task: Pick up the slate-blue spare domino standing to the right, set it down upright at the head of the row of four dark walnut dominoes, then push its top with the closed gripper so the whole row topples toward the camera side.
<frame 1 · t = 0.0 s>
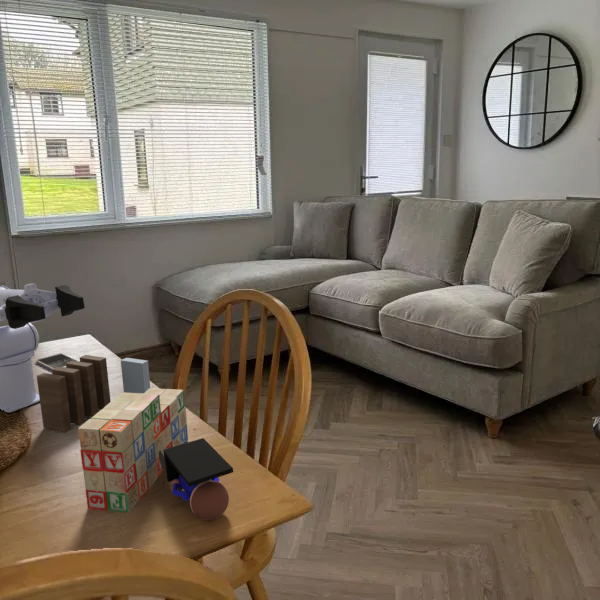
hand: (63, 307, 102), 22 cm above the table, tool horizontal, fingers open, 7 cm apart
domino 3: (85, 413, 112), on the table
domino 2: (71, 421, 109), on the table
stack of blocks: (143, 472, 91), on the table
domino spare: (138, 410, 113), on the table
domino 1: (57, 429, 106), on the table
figurine character: (196, 499, 84), on the table
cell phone: (58, 366, 140), on the table
domino 4: (98, 406, 115), on the table
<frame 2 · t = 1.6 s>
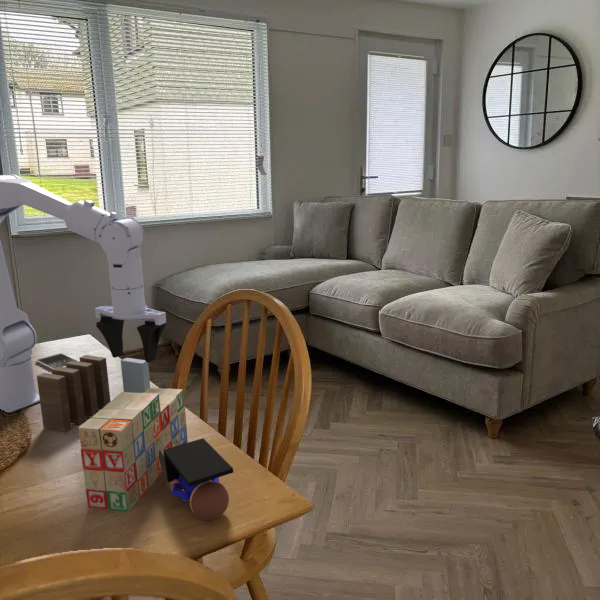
hand: (134, 358, 110), 10 cm above the table, tool pointing down, fingers open, 7 cm apart
nothing on the table moved.
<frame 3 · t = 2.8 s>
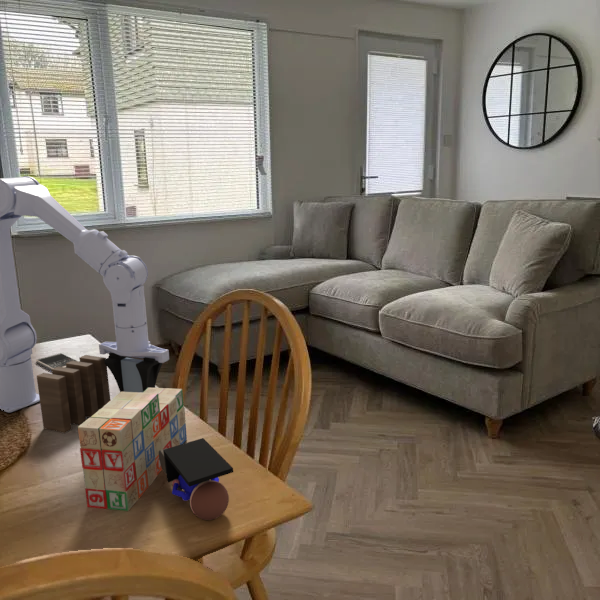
hand: (137, 393, 112), 3 cm above the table, tool pointing down, fingers closed on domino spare, 5 cm apart
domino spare: (138, 410, 113), on the table, touching gripper
everything else where it was.
when the fingers open (4 cm above the table, at t = 6.4 s): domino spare stays where it is, on the table.
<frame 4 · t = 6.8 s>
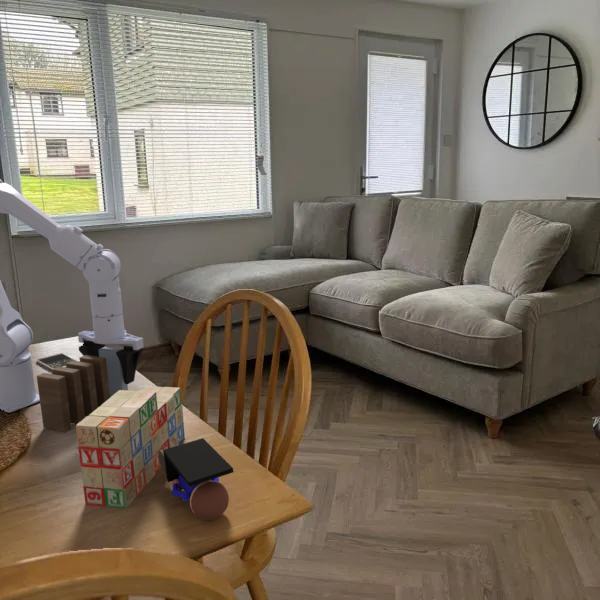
hand: (114, 379, 118), 4 cm above the table, tool pointing down, fingers open, 7 cm apart
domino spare: (116, 397, 119), on the table
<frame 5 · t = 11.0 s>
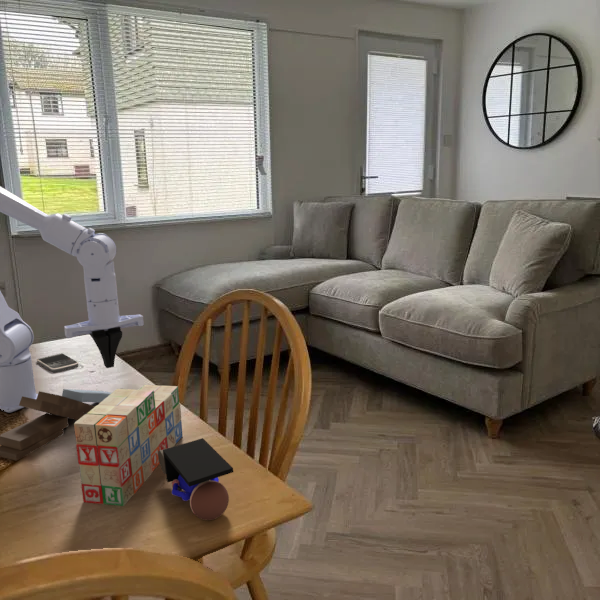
hand: (109, 366, 117), 7 cm above the table, tool pointing down, fingers closed
domino 3: (73, 414, 109), point 1 cm above the table, tilted 56°
domino 2: (57, 419, 106), point 2 cm above the table, tilted 89°, touching domino 1
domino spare: (110, 396, 118), point 1 cm above the table, tilted 67°
domino 1: (52, 431, 105), on the table, tilted 90°, touching domino 2
domino 4: (86, 409, 112), point 1 cm above the table, tilted 56°
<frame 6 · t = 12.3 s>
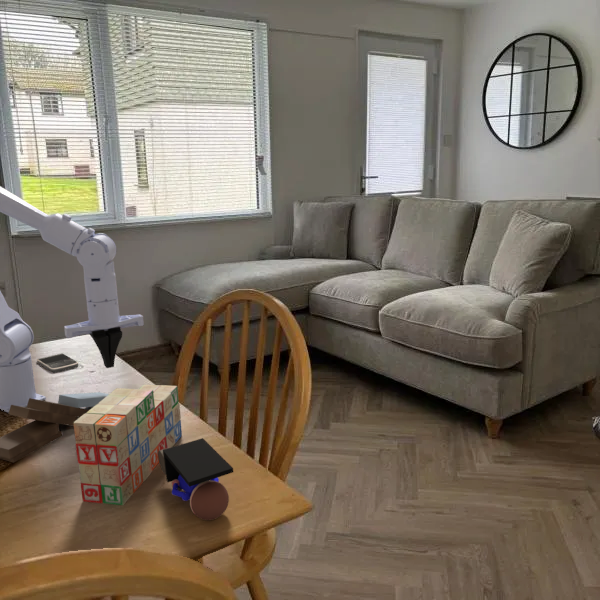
hand: (109, 366, 117), 7 cm above the table, tool pointing down, fingers closed
domino 3: (66, 419, 107), point 1 cm above the table, tilted 60°, touching domino 2, domino 4
domino 2: (48, 425, 104), point 2 cm above the table, tilted 90°, touching domino 3
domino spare: (108, 398, 117), point 1 cm above the table, tilted 72°, touching domino 4
domino 1: (52, 433, 104), on the table, tilted 90°
domino 4: (80, 412, 111), point 1 cm above the table, tilted 60°, touching domino 3, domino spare
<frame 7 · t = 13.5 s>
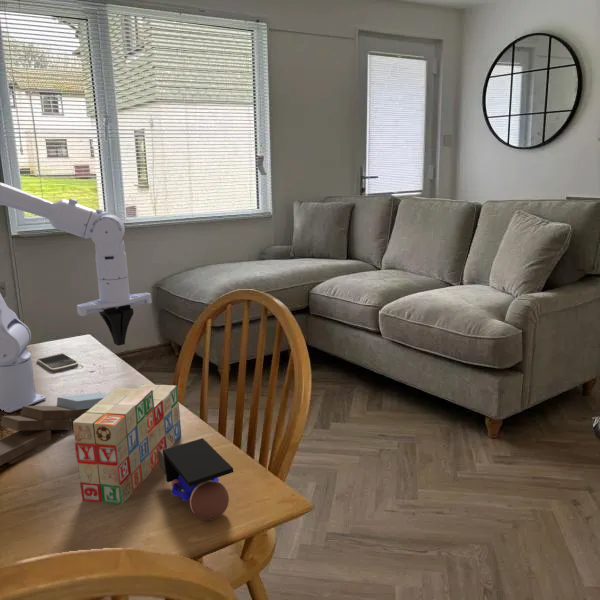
hand: (119, 343, 119), 10 cm above the table, tool pointing down, fingers closed
domino 3: (63, 422, 106), point 1 cm above the table, tilted 69°, touching domino 2, domino 4
domino 2: (40, 432, 102), point 1 cm above the table, tilted 89°, touching domino 1, domino 3
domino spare: (107, 398, 117), point 1 cm above the table, tilted 74°
domino 1: (52, 436, 104), on the table, tilted 91°, touching domino 2
domino 4: (77, 412, 110), point 1 cm above the table, tilted 69°, touching domino 3
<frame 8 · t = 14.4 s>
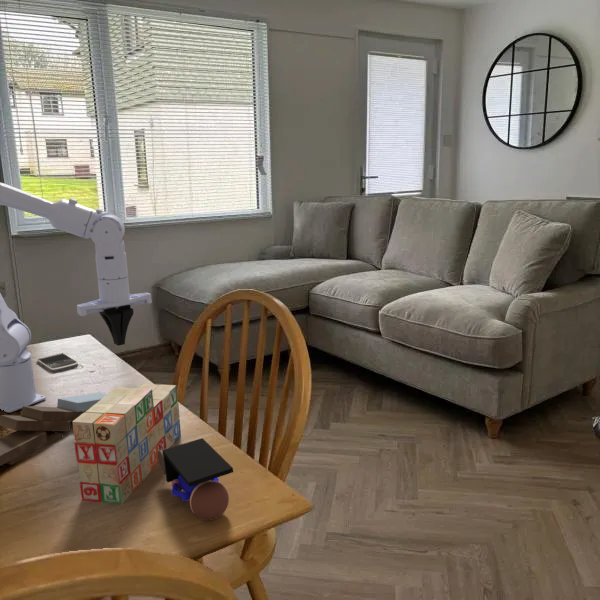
hand: (119, 343, 119), 10 cm above the table, tool pointing down, fingers closed
domino 2: (36, 433, 101), point 2 cm above the table, tilted 90°, touching domino 1, domino 3
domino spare: (107, 398, 117), point 1 cm above the table, tilted 75°, touching domino 4
domino 4: (76, 414, 110), point 1 cm above the table, tilted 67°, touching domino 3, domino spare
at the end: domino 1 tilted 90°; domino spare tilted 75°; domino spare inside the target area (2.6 cm from its centre), point 0.8 cm above the table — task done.
